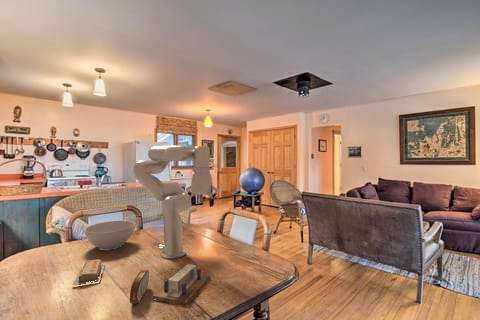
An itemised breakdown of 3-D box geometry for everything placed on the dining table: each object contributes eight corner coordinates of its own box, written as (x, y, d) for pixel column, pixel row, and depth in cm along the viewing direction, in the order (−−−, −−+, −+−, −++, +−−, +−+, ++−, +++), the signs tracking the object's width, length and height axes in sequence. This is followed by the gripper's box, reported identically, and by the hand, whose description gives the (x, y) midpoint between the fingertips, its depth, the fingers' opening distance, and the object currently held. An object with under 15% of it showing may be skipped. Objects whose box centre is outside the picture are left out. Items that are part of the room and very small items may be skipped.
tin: (142, 286, 100) (142, 265, 100) (150, 285, 100) (150, 265, 100) (128, 309, 85) (128, 284, 85) (138, 308, 85) (137, 284, 85)
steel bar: (168, 293, 91) (168, 279, 91) (187, 275, 105) (187, 264, 105) (178, 294, 90) (177, 281, 90) (196, 277, 104) (196, 265, 103)
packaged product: (81, 260, 115) (105, 257, 119) (81, 270, 115) (105, 267, 119) (71, 277, 98) (100, 273, 102) (71, 289, 98) (100, 284, 102)
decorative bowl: (132, 236, 163) (132, 218, 163) (139, 249, 140) (139, 228, 140) (84, 244, 149) (84, 224, 149) (83, 259, 126) (83, 236, 126)
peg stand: (152, 299, 90) (152, 284, 90) (181, 274, 109) (181, 262, 109) (186, 306, 86) (186, 290, 86) (210, 278, 105) (209, 266, 105)
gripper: (182, 171, 120) (182, 206, 120) (215, 171, 115) (215, 208, 115) (190, 170, 127) (190, 203, 127) (221, 170, 122) (221, 205, 122)
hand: (202, 205), depth 121 cm, fingers open, 9 cm apart
